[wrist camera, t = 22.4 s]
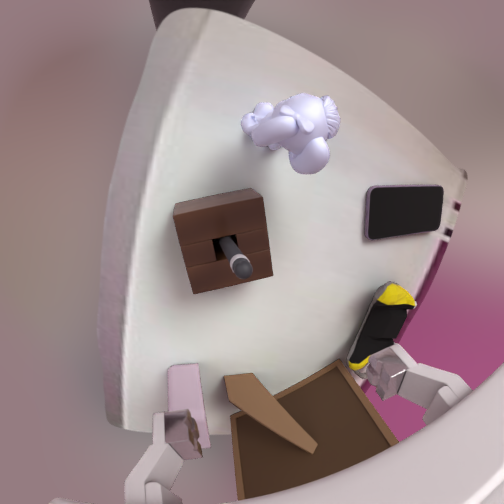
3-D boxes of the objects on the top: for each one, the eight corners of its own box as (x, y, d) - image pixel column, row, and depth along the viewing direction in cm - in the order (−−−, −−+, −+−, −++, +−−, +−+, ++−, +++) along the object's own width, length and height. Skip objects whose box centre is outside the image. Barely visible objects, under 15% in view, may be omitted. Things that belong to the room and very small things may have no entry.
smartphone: (369, 186, 32) (444, 185, 34) (364, 185, 33) (439, 183, 35) (366, 241, 34) (439, 230, 37) (362, 238, 35) (434, 228, 38)
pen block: (175, 203, 28) (172, 215, 24) (250, 187, 29) (263, 196, 25) (191, 272, 32) (193, 294, 27) (261, 256, 33) (273, 276, 28)
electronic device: (165, 361, 36) (165, 417, 27) (197, 359, 37) (204, 415, 28) (175, 402, 39) (179, 452, 30) (203, 400, 40) (211, 450, 31)
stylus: (213, 228, 30) (233, 265, 17) (225, 226, 30) (253, 260, 17) (215, 240, 31) (237, 285, 17) (227, 237, 31) (257, 280, 18)
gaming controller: (332, 353, 42) (376, 348, 45) (347, 375, 37) (392, 367, 40) (365, 272, 37) (409, 275, 40) (388, 290, 32) (431, 291, 35)
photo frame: (344, 370, 45) (414, 477, 23) (241, 424, 45) (276, 538, 23) (321, 320, 39) (418, 460, 16) (195, 388, 39) (221, 539, 16)
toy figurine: (309, 123, 28) (374, 120, 17) (278, 170, 29) (331, 190, 18) (257, 88, 25) (301, 58, 14) (224, 136, 27) (249, 133, 16)
